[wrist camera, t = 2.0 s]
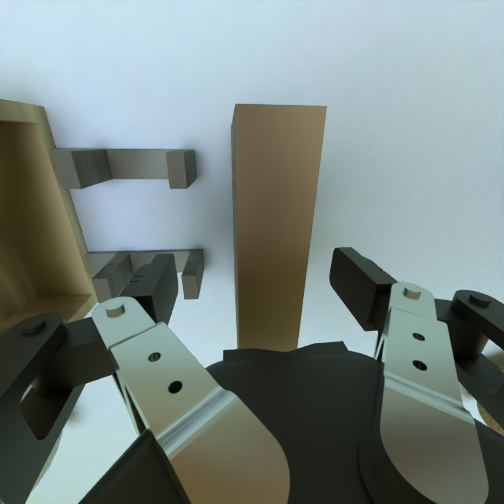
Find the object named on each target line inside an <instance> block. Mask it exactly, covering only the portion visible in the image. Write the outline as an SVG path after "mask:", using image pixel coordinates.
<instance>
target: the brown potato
mask: <svg viewBox="0 0 504 504" xmlns="http://www.w3.org/2000/svg"><path fill="white" fill-rule="evenodd" d="M500 370H501V371H502V372H504V369H500ZM477 407H478V410H479V413H480V416H481V417H482V419H483V420H484V422H485V423H486V424H487V426H488V427H489V428H491V429H493V430H494V431H496V432H498V433H499V434H501V435H502V436H504V430H503V429H502V428H501V427H500V426H499V425H498V423H497V422H496V421H495V420H494V419H493V418H492V417H491V416H490V415H489V414H488V413H487V411H486V410H485V409H484V408H483V407H482V406H481V405H480V404H479V403H478V402H477Z"/></svg>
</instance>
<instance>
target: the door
mask: <svg viewBox="0 0 504 504" xmlns="http://www.w3.org/2000/svg"><path fill="white" fill-rule="evenodd" d="M326 109H327V106H303V105H264V104H235V109H234V115H233V120H232V126H231V143H232V187H233V231H234V276H235V302H236V325H237V349H247V348H258V349H265V350H273V351H281V352H289V351H292V350H295V349H297V345H298V337H299V329H300V321H301V313H302V305H303V296H304V288H305V280H306V272H307V264H308V256H309V248H310V239H311V231H312V223H313V215H314V207H315V199H316V191H317V182H318V174H319V166H320V158H321V150H322V142H323V134H324V125H325V117H326Z"/></svg>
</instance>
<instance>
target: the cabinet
mask: <svg viewBox="0 0 504 504" xmlns="http://www.w3.org/2000/svg"><path fill="white" fill-rule="evenodd" d="M111 179H169V184H170V189H187V188H188V187H189V186H190V185H191V184H192V183H193V181H194V180H195V179H196V167H195V155H194V150H163V149H56V147H55V144H54V140H53V137H52V134H51V131H50V127H49V124H48V121H47V118H46V114H45V111H44V108H43V107H41V106H35V105H30V104H25V103H19V102H14V101H8V100H3V99H0V338H1V337H2V336H3V335H4V334H5V333H6V332H7V331H8V330H9V329H10V328H11V327H13V326H14V325H16V324H17V323H19V322H21V321H23V320H25V319H27V318H29V317H32V316H35V315H38V314H43V313H59V314H61V315H62V317H63V320H64V322H65V323H68V322H73V321H77V320H81V319H83V318H84V317H85V316H86V315H87V314H88V312H89V311H90V310H91V309H92V307H93V306H94V305H95V304H96V303H97V301H98V302H99V303H103V302H105V301H107V300H110V299H113V298H117V297H118V295H119V294H120V293H121V291H122V290H123V288H124V287H125V286H126V284H127V283H128V281H129V280H130V279H131V277H132V276H133V274H134V273H135V271H136V270H137V269H139V268H140V267H142V266H143V265H145V264H150V263H151V262H152V260H153V258H154V257H155V255H156V254H163V253H173V254H174V257H175V264H176V271H177V272H183V273H182V284H183V292H184V299H198V298H199V293H200V288H201V282H202V277H203V272H204V263H203V251H202V249H195V250H156V251H117V252H88V251H87V248H86V245H85V242H84V238H83V235H82V232H81V229H80V225H79V222H78V219H77V216H76V212H75V209H74V206H73V202H72V199H71V196H70V193H69V189H83V188H86V187H89V186H92V185H95V184H98V183H101V182H104V181H108V180H111Z"/></svg>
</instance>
